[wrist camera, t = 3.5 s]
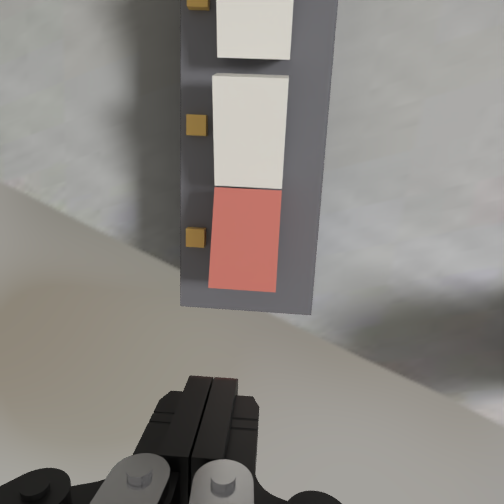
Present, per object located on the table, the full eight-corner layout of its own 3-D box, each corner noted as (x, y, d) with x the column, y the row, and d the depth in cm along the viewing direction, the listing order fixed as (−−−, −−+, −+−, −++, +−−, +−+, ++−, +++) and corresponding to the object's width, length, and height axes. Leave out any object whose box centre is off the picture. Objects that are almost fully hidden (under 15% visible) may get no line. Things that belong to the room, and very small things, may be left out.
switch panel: (195, -67, 26) (175, -116, 21) (337, -65, 25) (349, -116, 21) (192, 287, 32) (176, 311, 27) (307, 294, 31) (311, 321, 26)
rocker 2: (216, 72, 22) (211, 75, 21) (288, 75, 22) (288, 78, 21) (218, 176, 25) (214, 185, 24) (282, 180, 25) (281, 189, 24)
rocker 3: (218, 191, 26) (214, 187, 24) (281, 194, 25) (281, 190, 24) (212, 286, 25) (208, 287, 24) (275, 290, 25) (275, 292, 24)
